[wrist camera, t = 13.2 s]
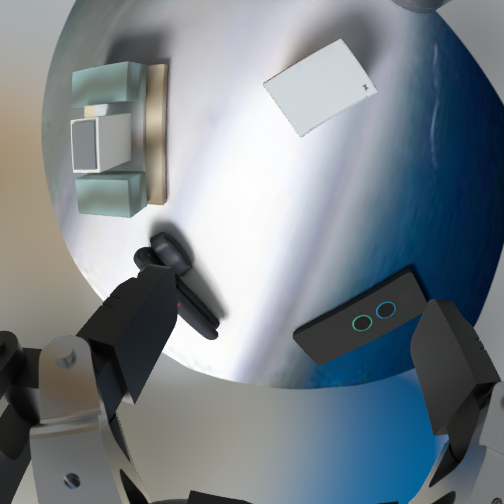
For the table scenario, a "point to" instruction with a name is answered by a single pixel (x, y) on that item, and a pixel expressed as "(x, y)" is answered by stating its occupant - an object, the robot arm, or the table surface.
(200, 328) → the can opener
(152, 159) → the rail board
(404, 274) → the smart home device
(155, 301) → the robot arm
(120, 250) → the table surface
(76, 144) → the block
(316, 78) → the small box
